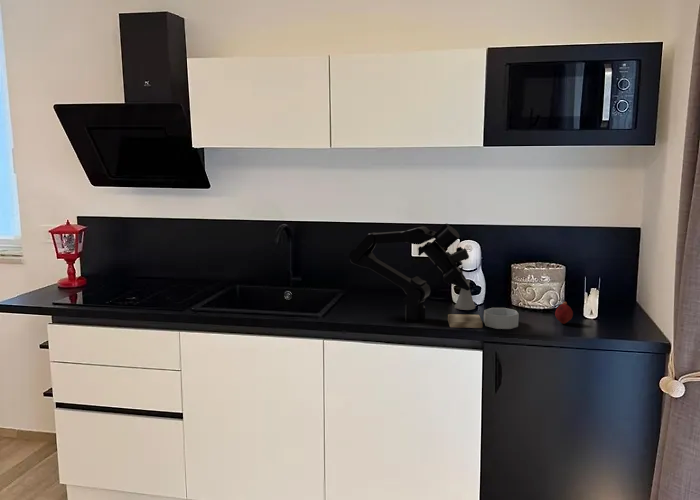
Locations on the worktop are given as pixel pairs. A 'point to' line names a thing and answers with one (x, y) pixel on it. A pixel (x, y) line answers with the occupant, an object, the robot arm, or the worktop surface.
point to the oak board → (464, 321)
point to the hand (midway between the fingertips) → (469, 288)
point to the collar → (501, 318)
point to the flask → (465, 299)
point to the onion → (564, 313)
